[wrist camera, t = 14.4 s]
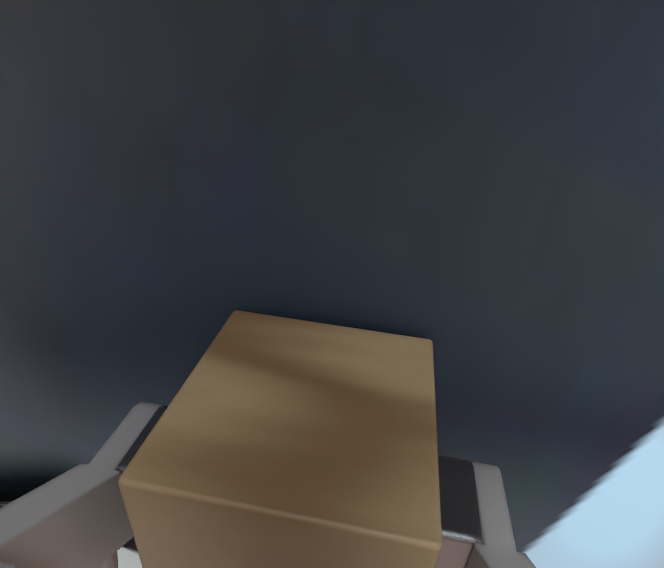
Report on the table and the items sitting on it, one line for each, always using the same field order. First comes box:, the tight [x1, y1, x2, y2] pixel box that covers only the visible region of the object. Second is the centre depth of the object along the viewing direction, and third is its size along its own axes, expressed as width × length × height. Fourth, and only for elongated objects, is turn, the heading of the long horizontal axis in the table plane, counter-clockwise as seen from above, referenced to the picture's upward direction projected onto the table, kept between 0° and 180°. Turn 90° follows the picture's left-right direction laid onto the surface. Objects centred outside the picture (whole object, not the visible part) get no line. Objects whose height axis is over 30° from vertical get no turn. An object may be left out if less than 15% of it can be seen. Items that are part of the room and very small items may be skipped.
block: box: [118, 310, 442, 568], centre depth 9 cm, size 4×4×4 cm
